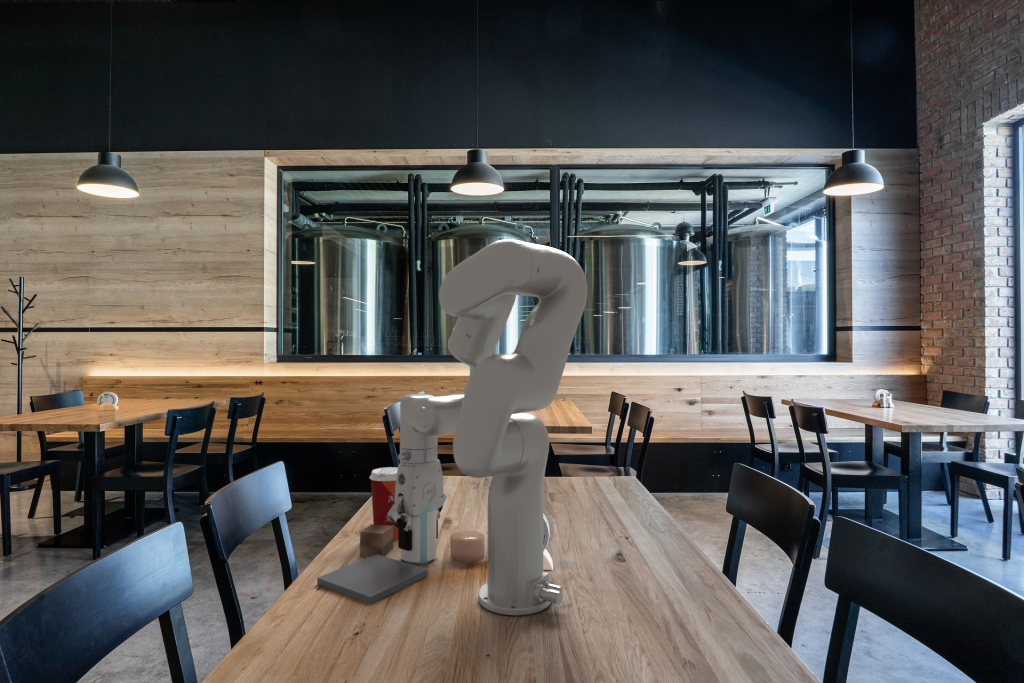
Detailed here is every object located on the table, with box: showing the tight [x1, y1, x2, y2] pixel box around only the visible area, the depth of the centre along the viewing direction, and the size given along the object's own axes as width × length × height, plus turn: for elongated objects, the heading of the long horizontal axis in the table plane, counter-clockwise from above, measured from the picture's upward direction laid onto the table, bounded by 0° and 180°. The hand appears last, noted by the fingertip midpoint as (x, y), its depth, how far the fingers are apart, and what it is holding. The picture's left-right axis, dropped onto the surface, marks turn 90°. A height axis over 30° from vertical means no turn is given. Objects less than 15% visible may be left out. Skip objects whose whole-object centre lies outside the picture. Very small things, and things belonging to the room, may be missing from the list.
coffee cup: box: [369, 466, 399, 542], centre depth 125 cm, size 8×8×15 cm
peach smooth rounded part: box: [449, 530, 486, 563], centre depth 114 cm, size 7×7×4 cm
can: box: [400, 502, 437, 565], centre depth 112 cm, size 7×7×12 cm
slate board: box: [316, 554, 429, 605], centre depth 102 cm, size 14×14×1 cm
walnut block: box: [359, 523, 394, 557], centre depth 116 cm, size 5×5×5 cm
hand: (418, 542), depth 112 cm, fingers closed on can, 6 cm apart
